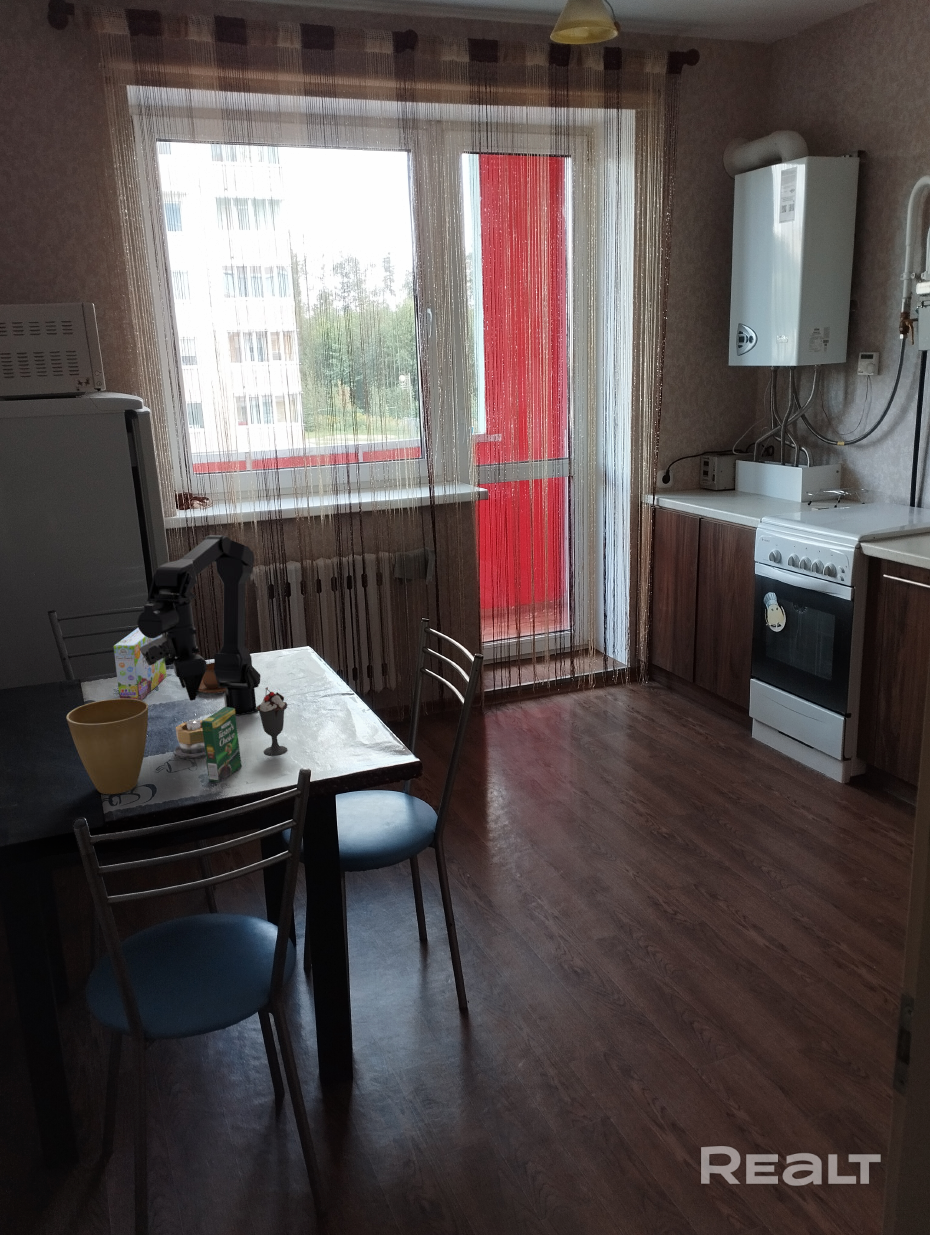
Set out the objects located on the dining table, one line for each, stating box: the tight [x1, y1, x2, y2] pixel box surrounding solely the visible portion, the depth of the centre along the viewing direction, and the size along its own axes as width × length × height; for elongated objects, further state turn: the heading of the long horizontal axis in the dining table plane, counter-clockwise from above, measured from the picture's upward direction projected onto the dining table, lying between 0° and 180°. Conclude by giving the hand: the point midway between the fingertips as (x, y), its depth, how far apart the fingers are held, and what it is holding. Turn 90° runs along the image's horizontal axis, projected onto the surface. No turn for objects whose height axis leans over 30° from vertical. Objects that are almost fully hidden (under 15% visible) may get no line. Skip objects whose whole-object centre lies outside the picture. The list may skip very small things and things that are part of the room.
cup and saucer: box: [198, 662, 226, 694], centre depth 245 cm, size 12×12×6 cm
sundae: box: [255, 687, 288, 756], centre depth 202 cm, size 7×7×15 cm
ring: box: [175, 719, 204, 744], centre depth 205 cm, size 7×7×2 cm
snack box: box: [113, 627, 168, 701], centre depth 245 cm, size 21×6×15 cm, turn 179°
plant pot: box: [66, 698, 149, 795], centre depth 188 cm, size 15×15×16 cm
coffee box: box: [202, 706, 243, 783], centre depth 191 cm, size 8×3×13 cm, turn 159°
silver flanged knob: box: [174, 719, 206, 760], centre depth 205 cm, size 9×9×6 cm
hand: (188, 693), depth 207 cm, fingers open, 9 cm apart
